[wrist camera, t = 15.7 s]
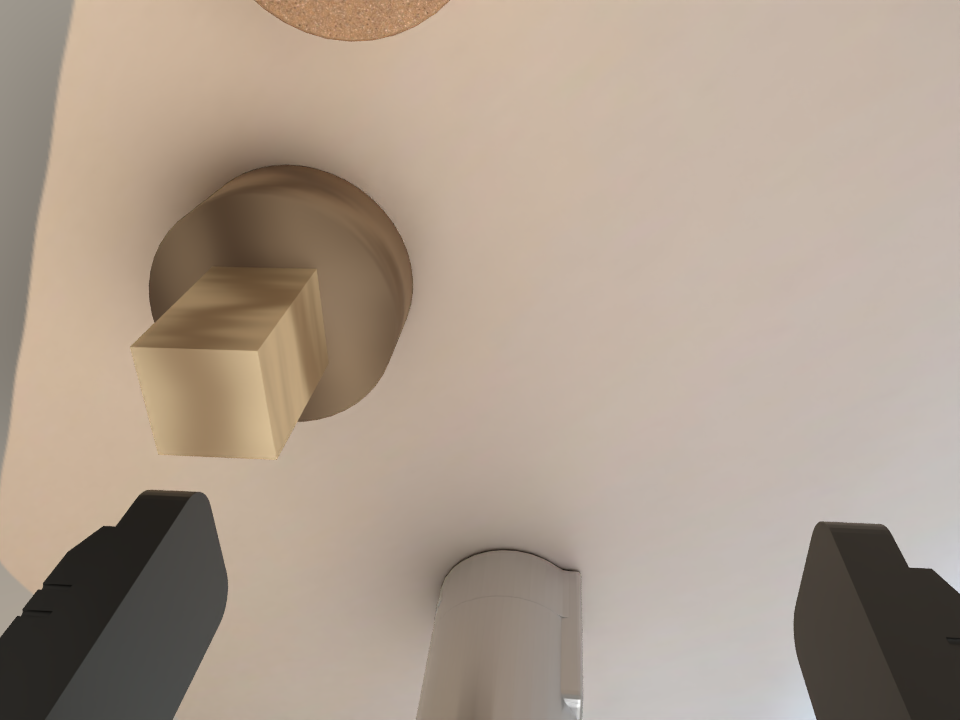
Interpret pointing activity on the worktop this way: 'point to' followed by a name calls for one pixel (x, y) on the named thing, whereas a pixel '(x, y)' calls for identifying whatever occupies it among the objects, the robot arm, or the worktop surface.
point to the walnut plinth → (303, 265)
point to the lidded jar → (353, 16)
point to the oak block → (233, 362)
